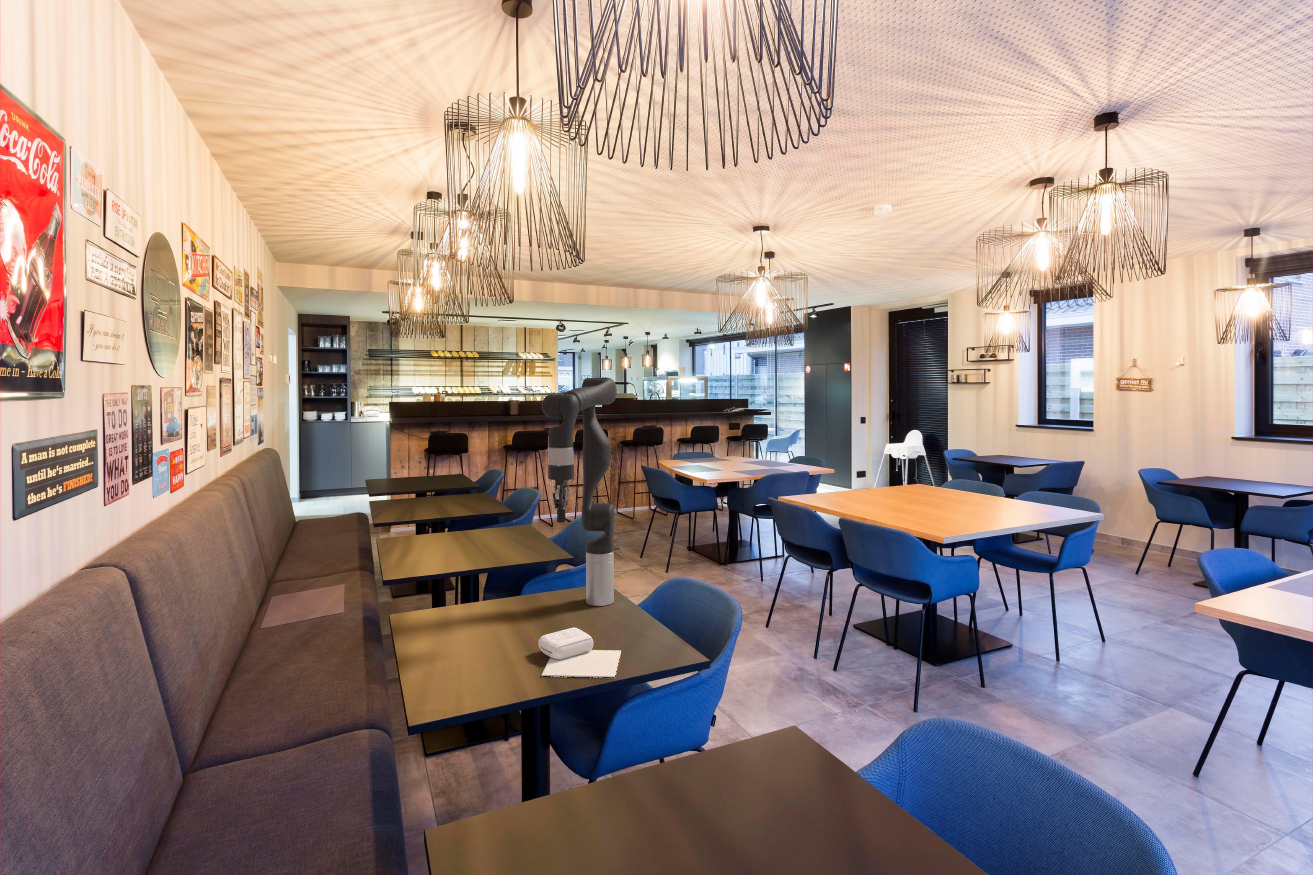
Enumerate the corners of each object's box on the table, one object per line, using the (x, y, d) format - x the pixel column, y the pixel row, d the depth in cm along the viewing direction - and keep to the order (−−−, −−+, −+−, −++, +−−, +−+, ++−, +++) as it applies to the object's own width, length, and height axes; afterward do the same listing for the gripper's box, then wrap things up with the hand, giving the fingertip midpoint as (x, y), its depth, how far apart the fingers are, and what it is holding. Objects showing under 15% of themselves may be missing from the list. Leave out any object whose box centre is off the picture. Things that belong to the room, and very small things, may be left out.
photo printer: (574, 639, 176) (534, 651, 169) (574, 624, 176) (534, 635, 168) (594, 651, 168) (553, 664, 161) (594, 636, 168) (553, 647, 160)
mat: (554, 650, 170) (554, 649, 170) (621, 652, 169) (621, 650, 169) (541, 676, 154) (541, 674, 154) (615, 678, 153) (615, 676, 153)
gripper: (552, 460, 190) (553, 517, 191) (543, 465, 177) (543, 526, 178) (577, 460, 190) (577, 518, 191) (569, 465, 176) (570, 526, 177)
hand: (561, 521), depth 184 cm, fingers closed
